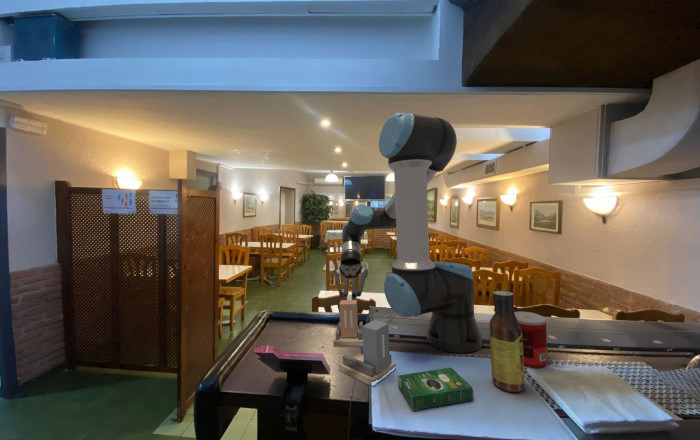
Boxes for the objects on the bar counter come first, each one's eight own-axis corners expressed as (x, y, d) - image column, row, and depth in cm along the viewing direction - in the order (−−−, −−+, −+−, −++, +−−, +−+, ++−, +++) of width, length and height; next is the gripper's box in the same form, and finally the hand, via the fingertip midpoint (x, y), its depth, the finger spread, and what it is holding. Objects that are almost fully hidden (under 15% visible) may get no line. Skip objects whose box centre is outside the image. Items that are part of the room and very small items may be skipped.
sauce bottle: (530, 395, 55) (526, 297, 55) (497, 392, 56) (493, 297, 56) (517, 376, 62) (514, 289, 62) (487, 374, 63) (484, 289, 63)
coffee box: (451, 378, 62) (397, 387, 60) (450, 365, 62) (396, 374, 60) (474, 401, 54) (412, 412, 52) (473, 386, 54) (412, 397, 52)
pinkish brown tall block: (342, 332, 86) (340, 300, 86) (358, 331, 85) (356, 300, 85) (340, 337, 81) (339, 304, 81) (357, 337, 81) (356, 304, 81)
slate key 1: (363, 368, 64) (362, 326, 64) (376, 359, 68) (375, 319, 68) (378, 374, 62) (376, 330, 62) (390, 365, 65) (389, 323, 65)
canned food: (543, 355, 70) (542, 312, 70) (551, 371, 63) (549, 324, 63) (509, 350, 74) (508, 309, 74) (513, 365, 66) (511, 320, 66)
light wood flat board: (362, 327, 93) (361, 317, 93) (404, 380, 62) (404, 364, 62) (323, 333, 89) (323, 323, 89) (348, 392, 59) (348, 376, 59)
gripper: (368, 261, 105) (370, 320, 89) (335, 262, 106) (330, 320, 90) (367, 249, 100) (369, 309, 84) (332, 250, 101) (327, 310, 85)
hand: (349, 315), depth 87 cm, fingers closed
